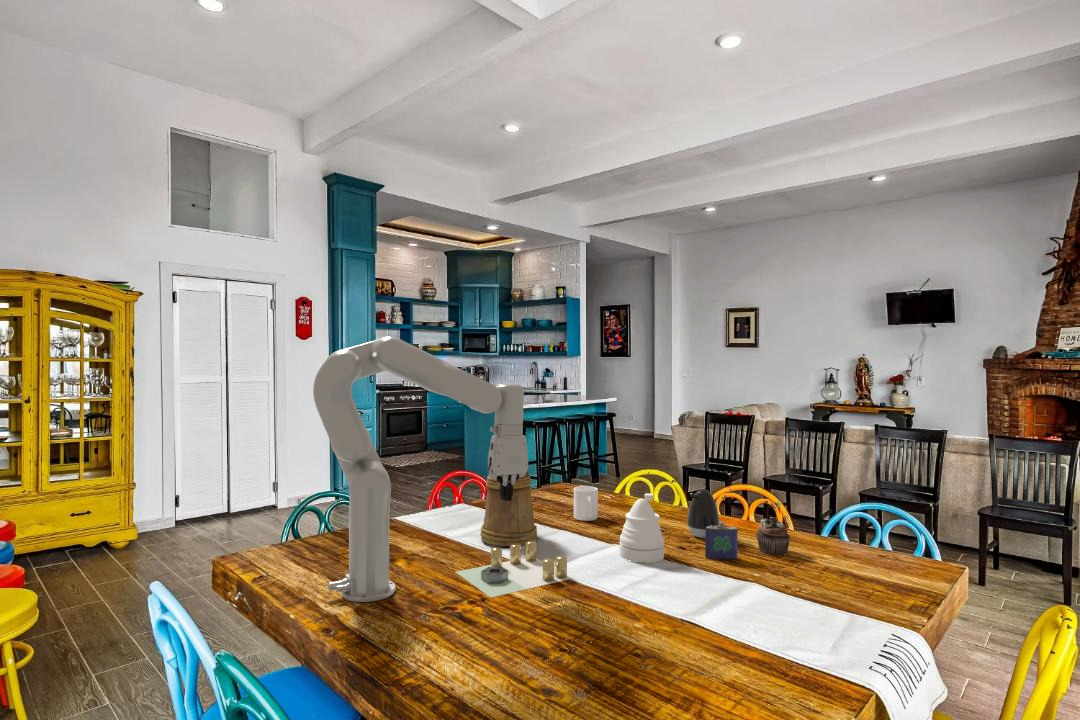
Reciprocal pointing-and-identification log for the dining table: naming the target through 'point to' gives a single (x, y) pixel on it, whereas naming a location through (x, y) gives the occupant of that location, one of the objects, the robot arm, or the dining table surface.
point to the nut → (494, 575)
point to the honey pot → (642, 533)
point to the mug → (585, 503)
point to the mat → (510, 578)
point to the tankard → (509, 515)
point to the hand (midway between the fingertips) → (506, 499)
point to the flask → (721, 542)
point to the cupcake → (772, 537)
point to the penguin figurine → (702, 513)
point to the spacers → (532, 560)
